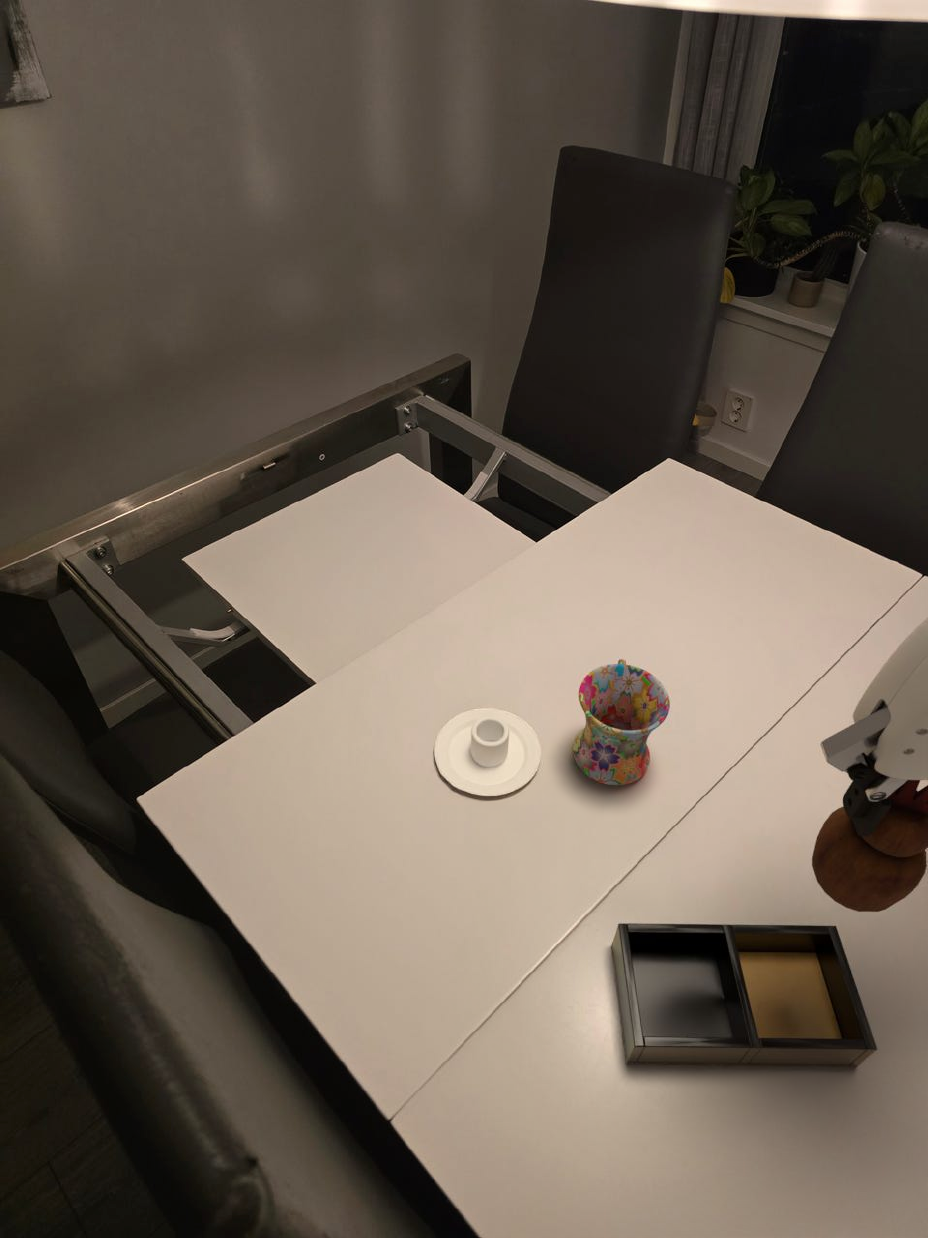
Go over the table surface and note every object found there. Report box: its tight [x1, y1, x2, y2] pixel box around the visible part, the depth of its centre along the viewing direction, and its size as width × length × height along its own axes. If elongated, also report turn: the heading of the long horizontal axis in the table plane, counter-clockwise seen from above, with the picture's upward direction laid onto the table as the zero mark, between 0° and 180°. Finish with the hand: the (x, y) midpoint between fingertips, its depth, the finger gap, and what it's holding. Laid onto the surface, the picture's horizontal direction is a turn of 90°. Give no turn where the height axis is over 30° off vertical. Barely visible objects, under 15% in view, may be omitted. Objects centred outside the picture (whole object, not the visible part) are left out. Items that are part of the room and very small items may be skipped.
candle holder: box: [433, 707, 542, 797], centre depth 87 cm, size 12×12×4 cm
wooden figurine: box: [811, 780, 928, 913], centre depth 54 cm, size 7×6×15 cm
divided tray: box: [610, 922, 878, 1068], centre depth 68 cm, size 19×10×5 cm, turn 89°
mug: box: [572, 658, 671, 786], centre depth 85 cm, size 12×9×11 cm
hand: (897, 816), depth 52 cm, fingers closed on wooden figurine, 4 cm apart
